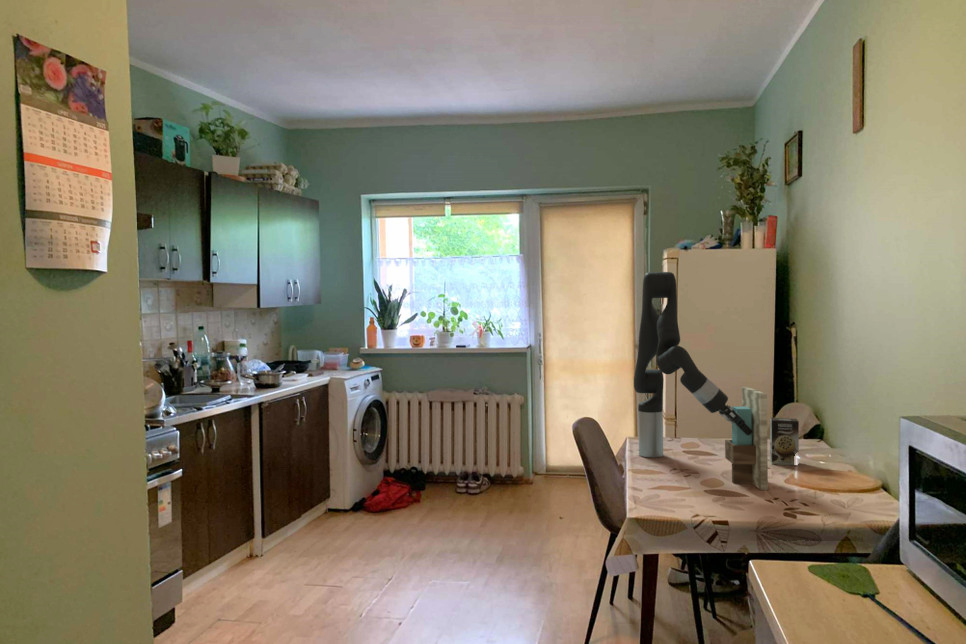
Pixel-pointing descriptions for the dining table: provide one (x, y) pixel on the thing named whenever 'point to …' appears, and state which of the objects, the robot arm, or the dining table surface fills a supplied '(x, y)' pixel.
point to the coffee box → (783, 440)
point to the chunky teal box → (737, 433)
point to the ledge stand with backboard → (752, 458)
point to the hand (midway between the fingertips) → (747, 431)
